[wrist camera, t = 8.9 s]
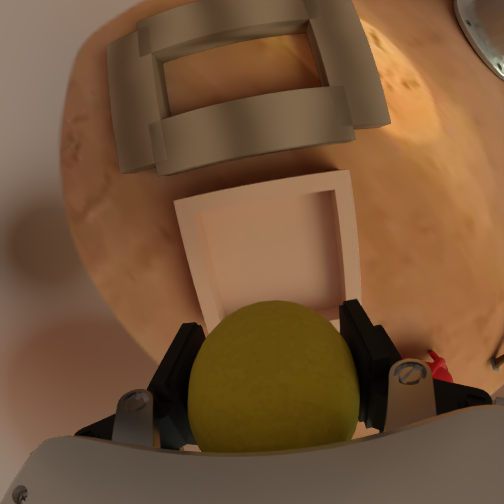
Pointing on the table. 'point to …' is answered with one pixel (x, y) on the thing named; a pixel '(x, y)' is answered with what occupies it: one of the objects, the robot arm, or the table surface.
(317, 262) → the tray
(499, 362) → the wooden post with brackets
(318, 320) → the lemon
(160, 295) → the table surface
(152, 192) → the table surface
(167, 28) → the rectangular open frame
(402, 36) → the table surface
